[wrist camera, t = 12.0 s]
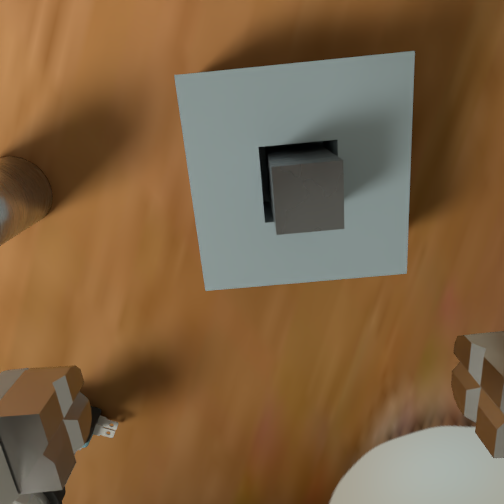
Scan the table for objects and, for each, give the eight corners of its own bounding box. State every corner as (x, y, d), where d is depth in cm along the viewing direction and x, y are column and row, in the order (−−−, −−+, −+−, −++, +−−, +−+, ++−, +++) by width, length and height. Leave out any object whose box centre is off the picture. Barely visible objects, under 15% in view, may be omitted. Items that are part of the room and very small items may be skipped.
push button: (127, 398, 35) (82, 507, 26) (111, 444, 37) (64, 562, 28) (48, 374, 34) (-28, 478, 25) (35, 423, 36) (-40, 537, 27)
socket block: (377, 241, 30) (406, 273, 25) (213, 255, 31) (205, 290, 25) (379, 60, 26) (414, 50, 21) (190, 79, 27) (174, 75, 21)
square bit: (316, 189, 28) (344, 228, 20) (268, 193, 28) (276, 234, 20) (314, 140, 27) (343, 160, 19) (264, 145, 27) (271, 166, 19)
